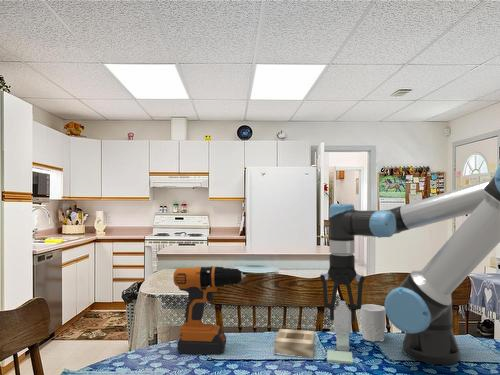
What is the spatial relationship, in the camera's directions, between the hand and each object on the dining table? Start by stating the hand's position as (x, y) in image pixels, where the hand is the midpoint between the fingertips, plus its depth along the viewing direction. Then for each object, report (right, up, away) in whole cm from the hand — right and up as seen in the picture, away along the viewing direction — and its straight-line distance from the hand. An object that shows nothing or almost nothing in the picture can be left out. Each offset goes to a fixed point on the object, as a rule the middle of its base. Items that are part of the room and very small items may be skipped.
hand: (342, 331), depth 116 cm
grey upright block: (0, -5, 0) cm, 5 cm away
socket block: (-15, -5, -1) cm, 15 cm away
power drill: (-40, -5, -2) cm, 41 cm away
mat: (-3, -5, -7) cm, 9 cm away
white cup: (+12, -6, +8) cm, 16 cm away
